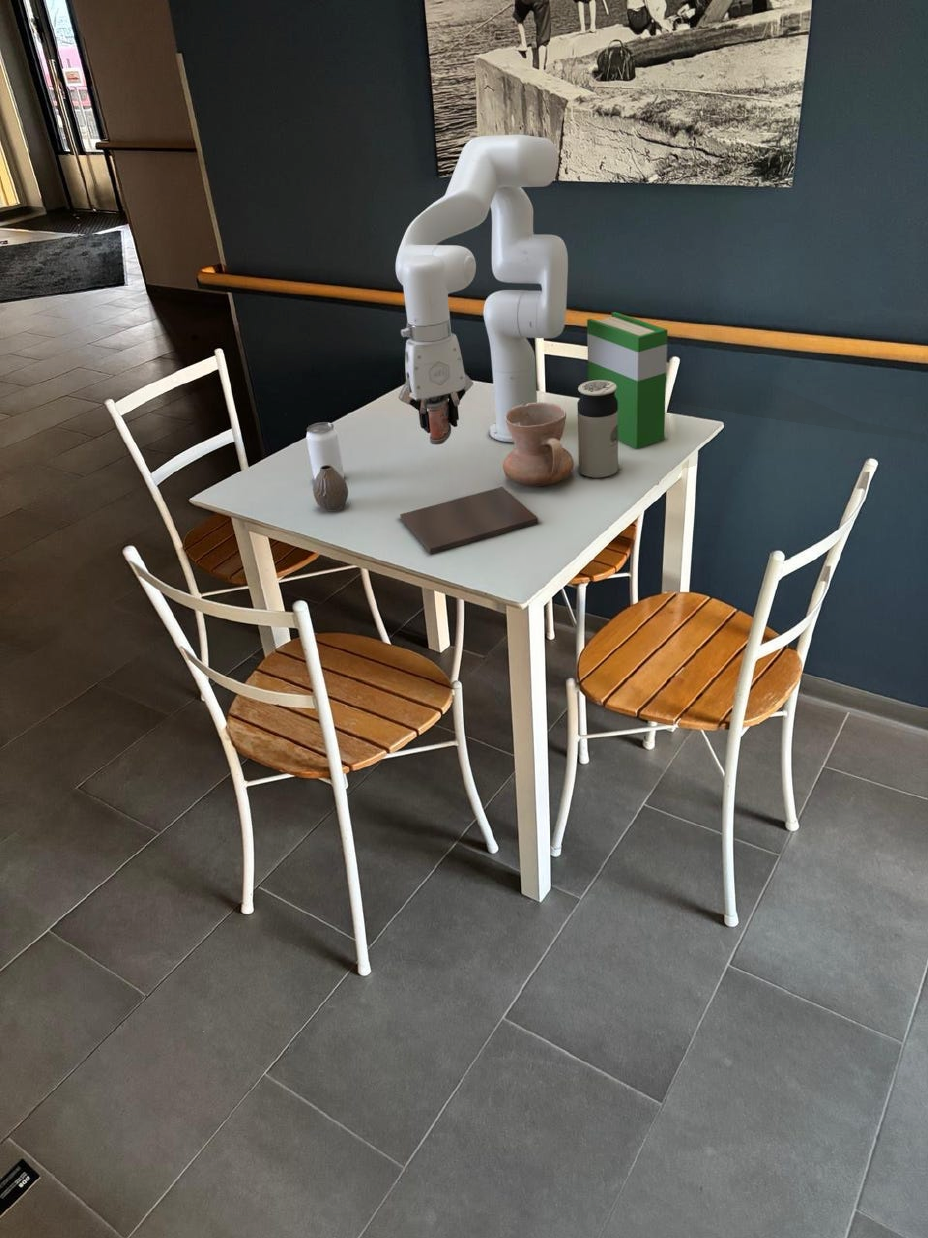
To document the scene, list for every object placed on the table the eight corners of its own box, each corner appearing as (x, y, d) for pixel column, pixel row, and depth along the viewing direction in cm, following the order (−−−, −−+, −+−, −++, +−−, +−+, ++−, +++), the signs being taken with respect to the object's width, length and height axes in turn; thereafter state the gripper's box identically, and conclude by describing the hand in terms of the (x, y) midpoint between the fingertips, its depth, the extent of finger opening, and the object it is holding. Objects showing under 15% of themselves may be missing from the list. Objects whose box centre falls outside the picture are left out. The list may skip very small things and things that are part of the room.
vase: (336, 517, 188) (328, 476, 183) (309, 510, 191) (301, 471, 186) (357, 502, 192) (350, 462, 188) (330, 496, 196) (323, 457, 191)
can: (315, 475, 205) (305, 423, 199) (345, 471, 206) (336, 419, 199) (314, 488, 200) (303, 435, 193) (344, 484, 200) (335, 431, 194)
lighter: (444, 444, 174) (440, 392, 168) (427, 444, 175) (421, 392, 169) (454, 427, 180) (450, 376, 175) (437, 427, 181) (432, 376, 176)
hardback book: (588, 424, 215) (587, 319, 202) (615, 416, 218) (615, 311, 205) (636, 448, 202) (638, 337, 189) (664, 439, 205) (667, 329, 192)
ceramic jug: (491, 471, 199) (486, 407, 191) (553, 455, 203) (550, 392, 195) (525, 504, 185) (521, 437, 177) (591, 487, 189) (590, 420, 181)
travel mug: (571, 473, 195) (568, 389, 185) (594, 459, 200) (593, 376, 190) (602, 482, 190) (602, 396, 180) (625, 467, 195) (625, 383, 185)
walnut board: (502, 491, 191) (502, 486, 190) (538, 523, 178) (538, 517, 177) (400, 519, 184) (400, 514, 184) (430, 554, 172) (429, 548, 171)
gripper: (391, 345, 161) (404, 444, 171) (481, 326, 166) (489, 424, 176) (378, 334, 167) (391, 431, 177) (465, 316, 172) (474, 411, 182)
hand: (440, 426), depth 176 cm, fingers closed on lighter, 4 cm apart
